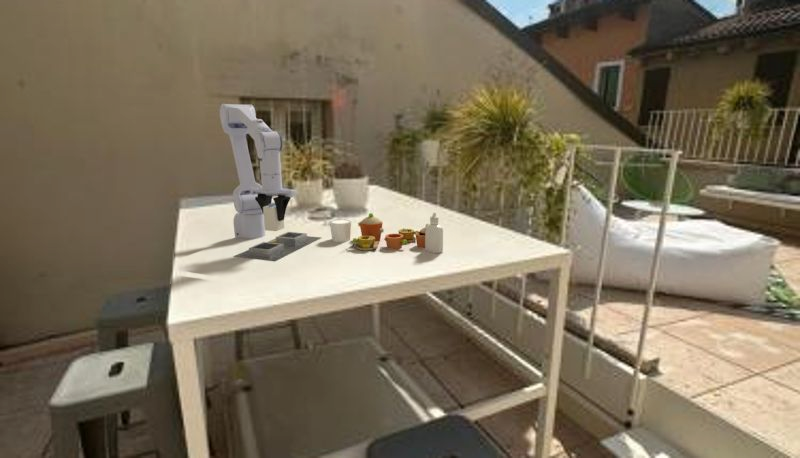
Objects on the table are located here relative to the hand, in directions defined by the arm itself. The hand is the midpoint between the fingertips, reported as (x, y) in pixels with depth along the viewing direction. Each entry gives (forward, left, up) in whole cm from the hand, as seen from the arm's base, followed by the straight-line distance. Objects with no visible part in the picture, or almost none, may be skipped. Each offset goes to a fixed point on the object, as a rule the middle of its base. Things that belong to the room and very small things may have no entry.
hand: (274, 219), depth 127 cm
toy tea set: (+31, +19, -10) cm, 38 cm away
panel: (0, +2, -10) cm, 10 cm away
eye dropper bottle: (+45, +15, -10) cm, 49 cm away
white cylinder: (+14, +15, -10) cm, 23 cm away
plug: (0, 0, -3) cm, 3 cm away
